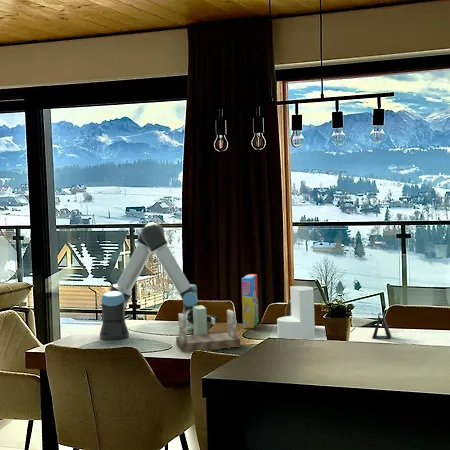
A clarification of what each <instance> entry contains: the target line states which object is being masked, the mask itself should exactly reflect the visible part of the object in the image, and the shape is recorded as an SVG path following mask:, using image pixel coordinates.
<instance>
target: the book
mask: <svg viewBox="0 0 450 450" xmlns="http://www.w3.org/2000/svg"><path fill="white" fill-rule="evenodd" d="M206 315H207V308H206V307H205V306H204V305H202V304H201V305H197V306H193V324H192V325H193V335H204V334H208V321H207V316H206Z"/></svg>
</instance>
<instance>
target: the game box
mask: <svg viewBox="0 0 450 450" xmlns="http://www.w3.org/2000/svg"><path fill="white" fill-rule="evenodd" d="M241 305H242V307H241V308H242V328H243V329H254V328H255V326H257V324H258V323H259V322H260V321H259V318H260V317H259V288H258V274H256V273H255V274H254V273H248V274H246V275H244V277H242V278H241Z"/></svg>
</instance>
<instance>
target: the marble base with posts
mask: <svg viewBox="0 0 450 450" xmlns="http://www.w3.org/2000/svg"><path fill="white" fill-rule="evenodd" d="M177 314H178V336H176V337H175V339H176V341H175V343H176V346H177V348H178V349H179V350H180V352H181V353H189V352H195V351H194V350H203V351H214V350H222V349H221V348H227V349H231V348H230V347H237V346H241V338H240V337H238V336H237V321H236V320H237V319H236V312H235V311H233V310H232V309H227V310H226V322H227V325H226V327H227V332H220V333H218V332H217V333H207V334H204V335H194V334H193V335H187V326H186V316H185V315H184V314H183V312H180V313H177Z"/></svg>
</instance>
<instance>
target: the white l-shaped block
mask: <svg viewBox="0 0 450 450" xmlns="http://www.w3.org/2000/svg"><path fill="white" fill-rule="evenodd" d="M289 288H290V289H289V290H290V300H291V316H286V315H285V316H282V317H278V318H277V319H276V325H277V327H276V329H277V339H278V338H301V339H315V340H316V328H315V327H316V325H315V317H314V309H315V296H314V294H315V293H314V287H312V286H309V285H307V286H306V285H304V286H303V285H293V286H292V285H290V286H289Z"/></svg>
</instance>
